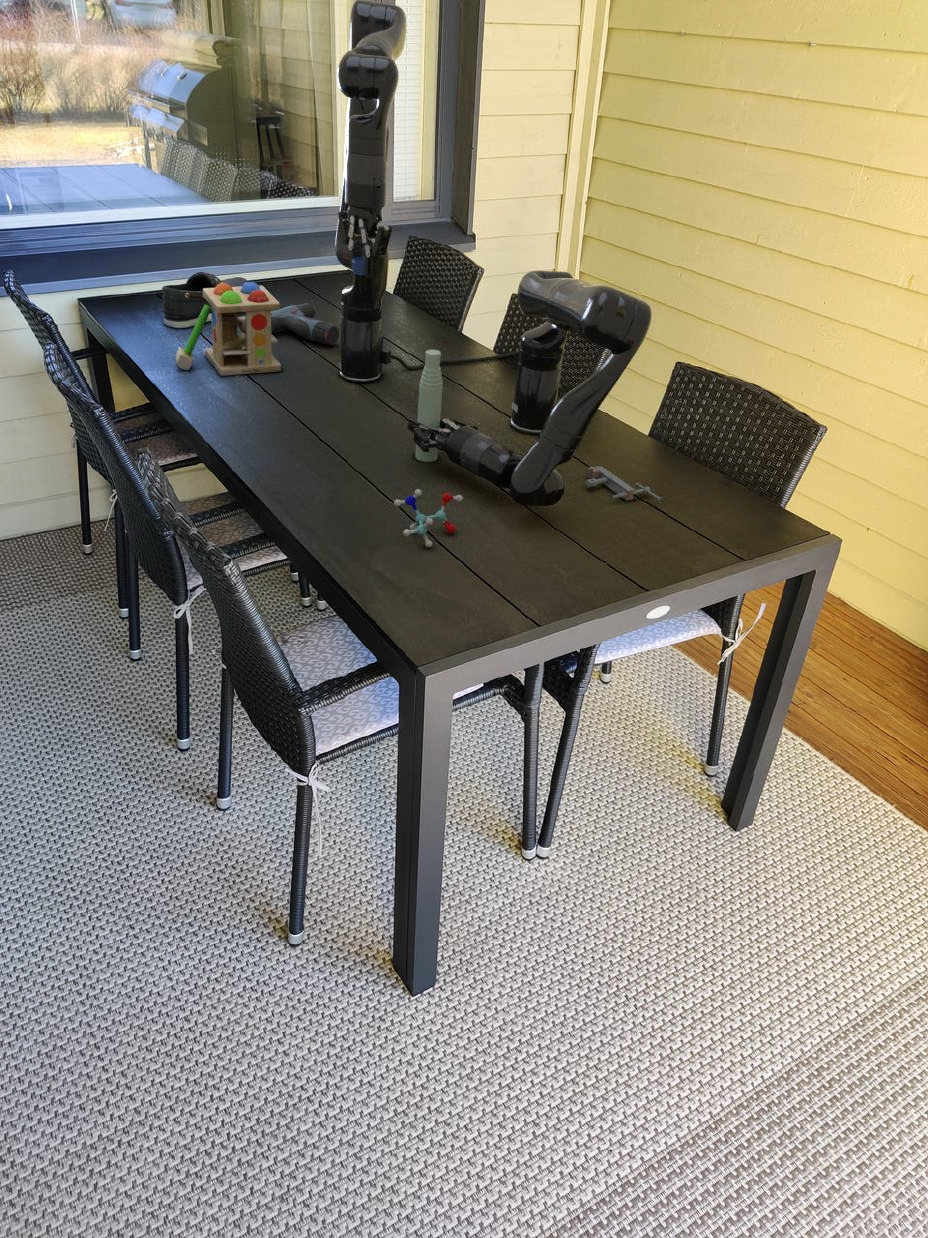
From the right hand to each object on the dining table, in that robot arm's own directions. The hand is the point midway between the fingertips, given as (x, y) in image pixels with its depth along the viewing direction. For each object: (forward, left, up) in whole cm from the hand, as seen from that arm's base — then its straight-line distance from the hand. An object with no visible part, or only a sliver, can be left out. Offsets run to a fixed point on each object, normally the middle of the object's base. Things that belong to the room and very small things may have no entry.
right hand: (419, 421), depth 196 cm
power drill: (-22, -70, -7) cm, 74 cm away
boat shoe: (-8, -97, -7) cm, 98 cm away
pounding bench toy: (+9, -61, -7) cm, 62 cm away
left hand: (+2, -17, +25) cm, 30 cm away
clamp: (-22, +35, -7) cm, 42 cm away
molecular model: (+21, +27, -7) cm, 34 cm away
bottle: (0, +3, -7) cm, 7 cm away
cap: (+2, -17, +27) cm, 32 cm away
